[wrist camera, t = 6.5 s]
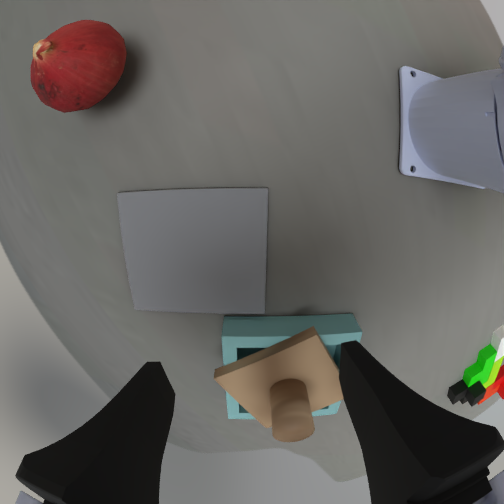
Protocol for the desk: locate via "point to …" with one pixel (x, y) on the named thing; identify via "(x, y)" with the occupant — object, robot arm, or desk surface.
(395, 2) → the desk surface
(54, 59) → the pomegranate
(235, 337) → the dish
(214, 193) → the mat
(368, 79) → the desk surface
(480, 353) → the building blocks
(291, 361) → the lid
